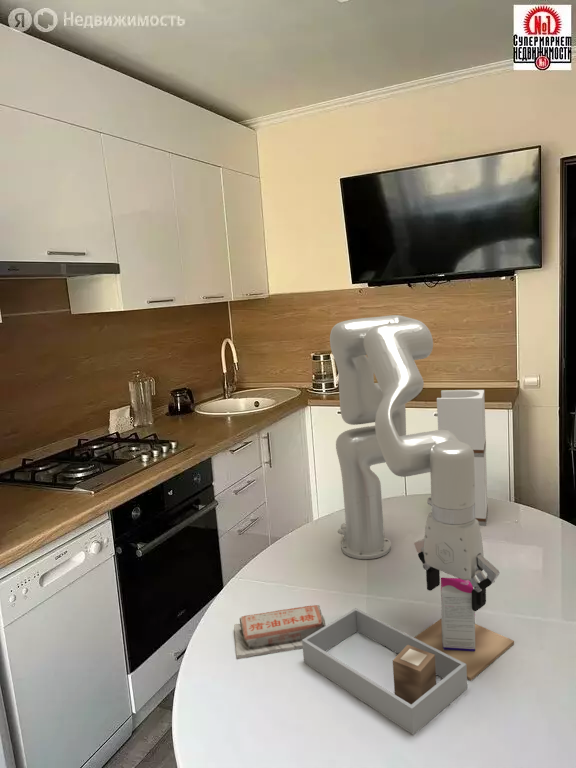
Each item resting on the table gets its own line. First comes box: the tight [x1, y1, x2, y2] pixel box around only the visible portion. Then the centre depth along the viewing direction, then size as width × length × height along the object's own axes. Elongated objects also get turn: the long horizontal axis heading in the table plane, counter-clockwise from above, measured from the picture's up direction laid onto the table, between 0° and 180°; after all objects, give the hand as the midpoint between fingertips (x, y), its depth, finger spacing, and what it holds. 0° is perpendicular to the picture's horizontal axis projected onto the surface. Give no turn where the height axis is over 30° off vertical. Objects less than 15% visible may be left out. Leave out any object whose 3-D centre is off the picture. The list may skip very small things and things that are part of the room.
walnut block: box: [392, 645, 437, 704], centre depth 98 cm, size 5×5×7 cm
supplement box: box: [440, 577, 476, 651], centre depth 109 cm, size 6×6×12 cm
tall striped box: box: [436, 389, 489, 527], centre depth 163 cm, size 11×11×35 cm
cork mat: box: [413, 618, 515, 682], centre depth 110 cm, size 14×14×1 cm
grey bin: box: [302, 607, 468, 735], centre depth 104 cm, size 25×14×4 cm, turn 40°
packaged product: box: [233, 604, 327, 659], centre depth 117 cm, size 18×5×10 cm
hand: (455, 597), depth 109 cm, fingers open, 9 cm apart
